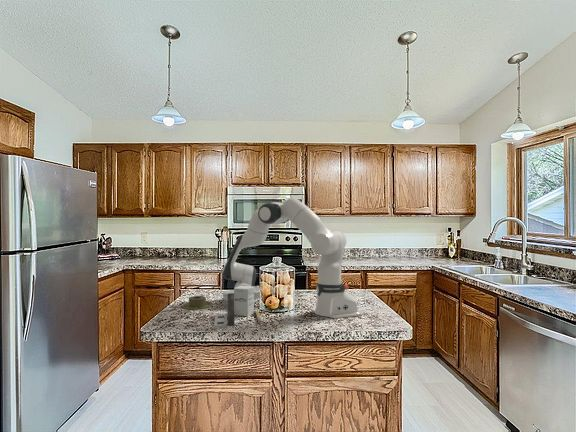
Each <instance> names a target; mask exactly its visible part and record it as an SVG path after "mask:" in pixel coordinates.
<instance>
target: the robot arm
mask: <svg viewBox="0 0 576 432" xmlns="http://www.w3.org/2000/svg"><path fill="white" fill-rule="evenodd" d="M288 221H289V222H291V223H292V224H293V225H294V226H295V227H296V228H297V229H298V230H299V231H300V232H301V233H303V234H302V235H304V236H305V238H306V239H307V241H308V242H309V243H310V246H311V249H312V251H313V252H314V253H316V254H318V255H320V259H319V262H318V265H317V283H316V295H317V297H316V304H315V308H314V314H315V315H317V316H322V317H327V318H331V319H341V318H350V317H359V316H363V311H362V309H360V308H359V307H358V302H357V300H356V298H354V297H353V296H352V295H351V294H350V293H348V292H347V291H346V290H348V289H349V285H347V284H344V283H342V264H343V258H344V253H345V248H346V245H347V238H346V236H345V235H344V234H343V232H341V231H339V230H336V229H335V230H330V229H328V228H327V227H326V226H325V224H324V223H323V222H322V219H321V218H320V216H319V215H317V214H316V213H315V212H314V211H313V210H312V209H311V208H310V207H308V205H306V203H304V202H302V201H301V200H299V199H297V198H295V197H290V198H287V199H286V200H285V201H284V202H279V201H272V202H266V203H263V204H262V205H260V207H259V208H258V209H256V210H254V211H253V213H252V214H251V217H250V219H249V222H248V226H247V227H246V228H247V229H246V230H245V232H244V233H243V234H240V235H239V236H238V238H237V239H236V241H235V244H234V245H233V248H232V250H231V252H230V254H229V256H228V258H227V260H226V262H225V263H224V266H223V267H222V270H221V274H222V276H223V278H224V279H225V280H226V281H227V280H228V281H235V282H236V283H235V284H234V288H236V287H238V286H251V287H254V300H261V299H260V291H259V290H260V286H259V285H255V284H256V281H257V269H256V267H255V266H253V265H249V264H244V263H239V262H237V261H236V260H237V258H238V256H239V254H240V253H241V251H242V250H243V249H246V248H249V247H251V248H252V247H258V246H260V245H262V244H263V243H264V242H265V241H266V239H267V237H268V233H269V231H270V230H269V229H270V226H271V225H272V224H274V225H275V224H277V225H278V224H283V223H287V222H288ZM234 288H233V289H232V290H231V289H230V290H225V291H223V293H222V300H224V301H228V294H229V293H234Z"/></svg>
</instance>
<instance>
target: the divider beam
mask: <svg viewBox="0 0 576 432" xmlns="http://www.w3.org/2000/svg"><path fill="white" fill-rule="evenodd" d="M254 313H255V316H256V320H257V323H259V324H258V325H262V319H261V315H260V311H259V308H254ZM227 326H231V327H232V326H235V315H234V293H229V294H228V300H227Z"/></svg>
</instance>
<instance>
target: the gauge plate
mask: <svg viewBox="0 0 576 432" xmlns="http://www.w3.org/2000/svg"><path fill="white" fill-rule="evenodd" d="M213 323H214V324H213V328H214V329H220V328H221V329H224V328H225V329H226V328H227V324H228V314H215V316H214V322H213Z"/></svg>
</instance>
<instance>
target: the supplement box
mask: <svg viewBox="0 0 576 432" xmlns="http://www.w3.org/2000/svg"><path fill="white" fill-rule="evenodd" d="M233 290H234V316H243V317H249V316H251V315H253V314H254V313H255V299H254V287H251V286H238V287H236V288H233ZM252 313H253V314H252Z"/></svg>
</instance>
